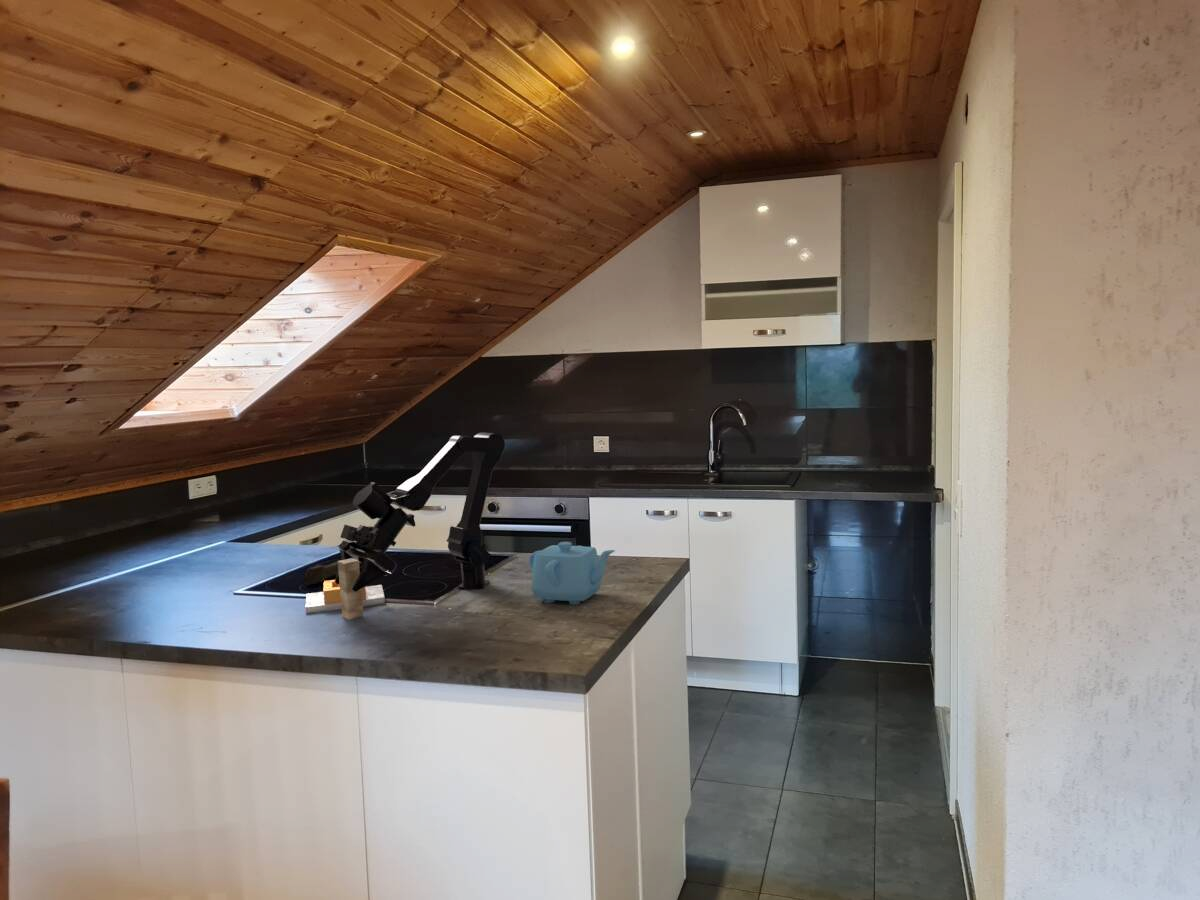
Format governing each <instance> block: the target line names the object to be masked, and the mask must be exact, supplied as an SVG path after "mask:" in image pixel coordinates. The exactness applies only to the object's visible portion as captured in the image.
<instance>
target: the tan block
mask: <svg viewBox="0 0 1200 900" xmlns="http://www.w3.org/2000/svg"><path fill="white" fill-rule="evenodd" d="M340 560H341V561H339V560H337V561H338V571H339V583H340V595H341V607H342V609H341V616H342V618H344V619H346V620H353V619H357V618H361V617H364V609H363V608H364V606H362V594H361V589H360V590H358V591H356V592H355V591H353V590H352V588H353V586H354V584H355V582H356V580H357V578H358V577H359V575H360V573H361V571H360V568H359V560H356V559H353V558H351V559H346V560H342V559H340Z"/></svg>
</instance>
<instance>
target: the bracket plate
mask: <svg viewBox="0 0 1200 900" xmlns="http://www.w3.org/2000/svg"><path fill="white" fill-rule="evenodd" d="M322 590H323V591H318V592H311V593H309V592H308V593H306V595H305V597H306V598H305V614H313V613H322V612H328V611H336V610H342V607H341V595H340V583H339V584H336V583H335V579H330V580H329V579H328V580H325V581H324V582H323V589H322ZM361 594H362V606H363V607H369V606H370V607H371V606H376V605H377V606H378V605H385V604H386V599H385V592H384V589H383V585H382V584H377V585H370V586H369V585H367V586H365V587H363V588H361Z"/></svg>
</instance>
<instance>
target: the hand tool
mask: <svg viewBox="0 0 1200 900" xmlns="http://www.w3.org/2000/svg"><path fill="white" fill-rule="evenodd" d="M341 560H342V559H340V560H337V561H334V562H333V563H330V564H327V565H322V564H319V565H315V566H311V567H309V568H307V571H306V574H305V586H307V585H308V586H311V585H310V584H314V583H317V584H319V583H318V582H321V583H323V582H322V581H326V580H327V579H329V578H332V577H334V576H337V573H338V561H341ZM359 563H360V562H359ZM314 585H315V584H314Z"/></svg>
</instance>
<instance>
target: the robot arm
mask: <svg viewBox="0 0 1200 900" xmlns="http://www.w3.org/2000/svg"><path fill="white" fill-rule="evenodd" d="M505 447H506V441H505V440H504V438H503V436H502V435H501V434H499V433H496V432H494V433H493V432H484V431H482V432H478V433H477V434H475V435H458V434H455V435H452V436H451V437H450V438H449V439H448V442H447V443H446V444H445V445H444V446H443V447H442V448H441V449H440V450H439V451H438V453H436V455H434V457H433V458H432V459H431V460H430V461H429V462H428V463H427V464H426V465H425V466H424V468H423V469H422V470H421V471H420V472H419V473H417V474H416V475H414V476H412V477H410V478H408V479H407V480H405V481H404V482H403V483H401V484H400V485H399V486H397V487H396V489H395V490H394V491H391V492H387V493H386V492H385V490H383V489H382V488H381V487H380V486H379V484H377V483H376V482H370V483H369V484H368V485H367V486H365V487H363V488H362V489H361V490H359V491H357V493H356V494H355V496H354V498H353V500H352V505H354V506H355V507H356V508H357V509H358V510H359V511H361V512H362V513H363V514H364V515H366V516H367V517H368V518H369V519H370V520H375V519H378V520H376V521H377V522H376V523H375V524H374V525H373V526H371V525H368V526H366V525H364V524H360V525H359V526H358V527H354V526H352V525H349V524H344V525H343V528H342V531H341V534H340V538H342V539H344V540H342V541H341V543H340V544H339V545H338V549H339V553H340V557H341V560H346V559H351V558H353V559H356V560H359V562H360V563H359V569H360V568H361V567H363V569H362V570H361V571H360V575H359V577H358V578H357V580H356V582H355V584H354V586H353V588H352V590H353V591H355V592H356V591H358V590H360V589H361V588H363V587H367V586H369V585H370V584H371V583H373V582H376V581H377V580H379V579H381V578H383V577H386V576H388V574H390V575H392V574H393V572H395V570H396V568H397V561H396V560H395V559H393V558H392V557H391V556H389V555H388V554H387V553H386V552H387V551H388V550H389V548H390V547H391V546H392V547H395V546H396V544H397V542H396V541H395V540H396V538H397V536H399V534H400V532H401V531H402V530H403V529H404V527H405V526H411V527H413V528H414V527H416V521H415V515H414V514H412V513H407V512H406V511H404V510H407V511H412V512H415V511H416V512H418V511H421V510H422V509H423V508H424V507H425V505H426V504H427V502H428V501H429V500H430V498H431V496H432V494H433V490H434V488H435V487H436V484H438V482H439V481H440V480H441V479H442V478H443V477H444V476H445V474H446V473H448V471H450V469H451V468H452V467H453V465H455V463H457V461H459V459H460V458H461V457H462V456H463V455H464V454H465V453H466V452H471V453H470V455H471V460H472V463H473V465H472V466H473V467H472V471H471V475H470V480H469V484H468V488H467V492H466V495H465V496H466V497H465V501H464V504H463V505H464V506H463V509H462V515H461V518H460V520H459V522H458V523H457V524H456V526H454V525H450V528H449V534H448V537H447V538H446V542H447V543H448V544H447V548H448V551H449V552H450V553H451V554H452V555H453V556H454V560H455V561H457V562H460V568H461V569H460V570H461V583H460V584H459V585H458V586H457V589H463V590H464V589H470V590H471V589H473V590H475V589H476V590H477V589H479V590H481V589H484V588H485V587H486V586H487V585H488V584H489V583H490V579H486V574H485V564H489V563H490V560H491V557H492V555H491V553H490V552H489V551H487V550H486V548H484V547H483V546H482V545H483V534H482V531H481V529H482V528H481V521H482V517H483V516H482V515H483V511H484V508H485V504H486V499H487V494H488V490H489V486H490V483H491V478H492V473H493V470H494V469H495V467H496V465H497V464H498V463H499V462H500V460H501V459H502V456H503V453H504V451H505V449H506V448H505ZM393 505H394V506H397V507H398V508H395V507H394V506H393ZM403 509H404V510H403ZM334 580H335V583H336V584H339V571H338V573H337V575H335V579H334Z"/></svg>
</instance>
